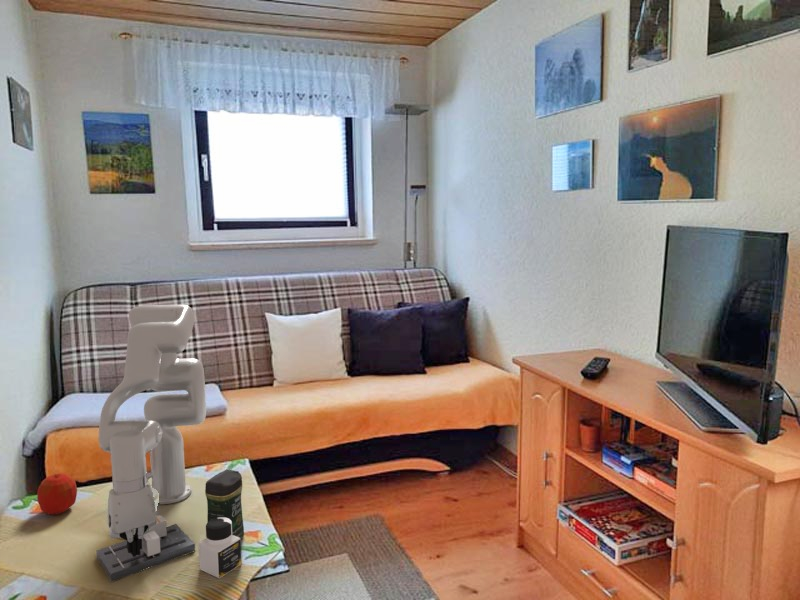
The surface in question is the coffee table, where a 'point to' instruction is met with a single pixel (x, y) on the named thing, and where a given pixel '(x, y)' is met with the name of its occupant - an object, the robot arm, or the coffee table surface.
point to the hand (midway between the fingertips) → (135, 553)
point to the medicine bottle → (219, 548)
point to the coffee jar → (226, 499)
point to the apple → (56, 494)
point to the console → (143, 554)
